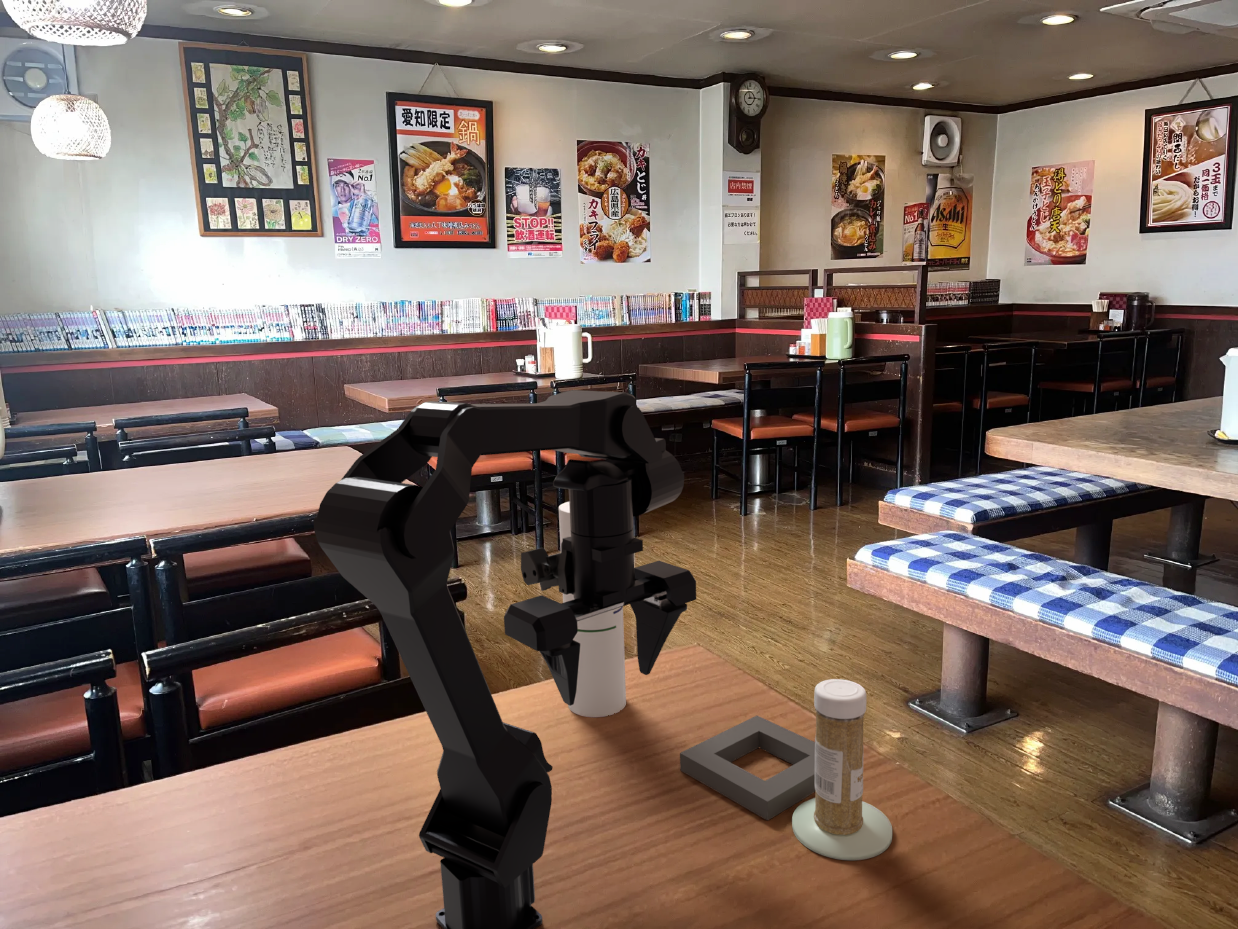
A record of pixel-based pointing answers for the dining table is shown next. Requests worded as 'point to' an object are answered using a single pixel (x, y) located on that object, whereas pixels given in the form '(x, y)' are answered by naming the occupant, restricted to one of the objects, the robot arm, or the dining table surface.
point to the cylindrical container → (597, 654)
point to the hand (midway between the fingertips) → (607, 688)
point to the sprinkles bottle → (839, 755)
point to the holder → (743, 787)
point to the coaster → (843, 847)
